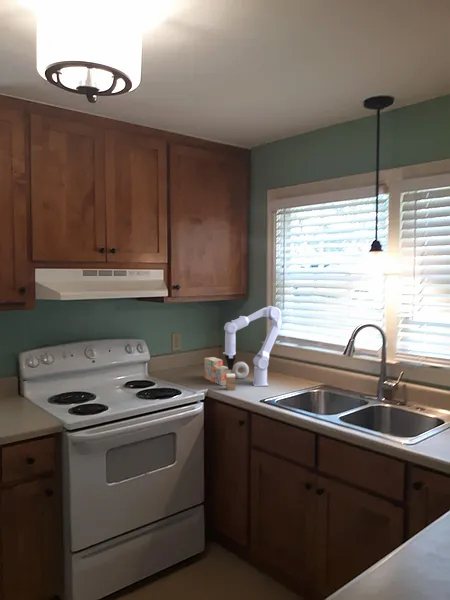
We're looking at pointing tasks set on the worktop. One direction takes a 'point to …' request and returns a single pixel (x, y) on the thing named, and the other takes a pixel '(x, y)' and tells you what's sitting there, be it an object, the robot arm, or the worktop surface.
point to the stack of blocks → (215, 370)
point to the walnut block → (230, 381)
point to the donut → (245, 370)
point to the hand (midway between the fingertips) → (230, 369)
